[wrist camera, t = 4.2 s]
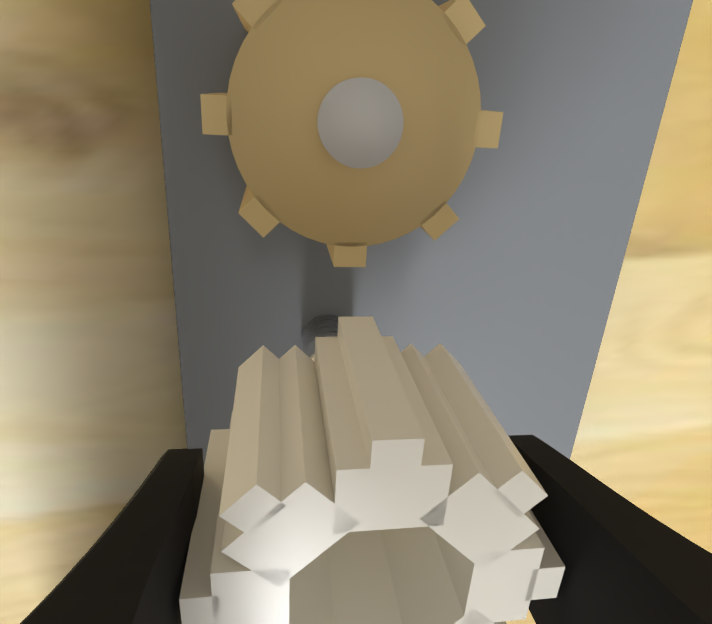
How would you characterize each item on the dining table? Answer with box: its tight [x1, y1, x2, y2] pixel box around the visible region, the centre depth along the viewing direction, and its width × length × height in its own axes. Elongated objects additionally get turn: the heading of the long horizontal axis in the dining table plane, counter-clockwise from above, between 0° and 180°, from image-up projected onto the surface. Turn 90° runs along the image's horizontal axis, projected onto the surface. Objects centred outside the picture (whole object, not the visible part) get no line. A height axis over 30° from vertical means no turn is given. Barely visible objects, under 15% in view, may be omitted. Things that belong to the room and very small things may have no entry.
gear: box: [179, 316, 565, 624], centre depth 10 cm, size 6×6×4 cm
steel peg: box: [301, 315, 338, 362], centre depth 14 cm, size 2×2×4 cm
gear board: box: [150, 0, 693, 464], centre depth 14 cm, size 20×14×6 cm
